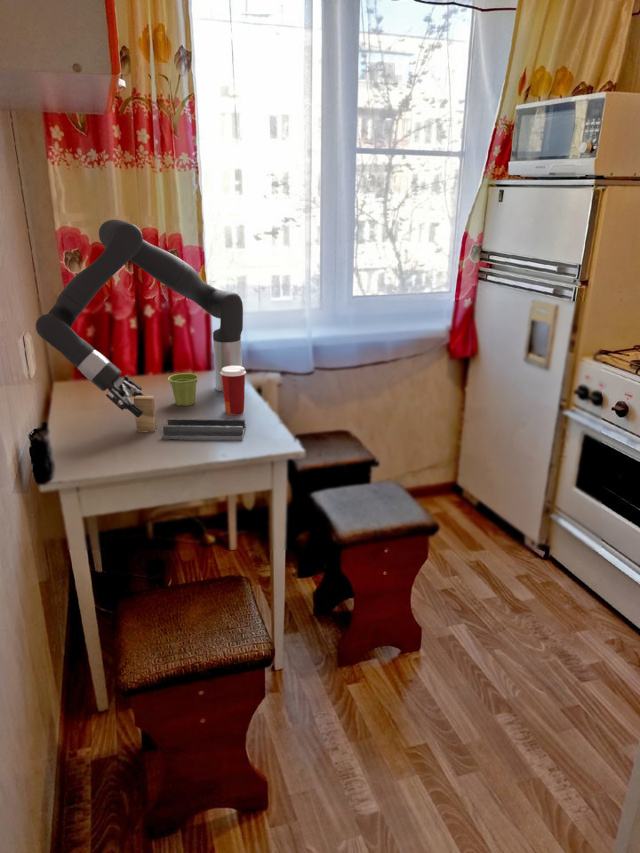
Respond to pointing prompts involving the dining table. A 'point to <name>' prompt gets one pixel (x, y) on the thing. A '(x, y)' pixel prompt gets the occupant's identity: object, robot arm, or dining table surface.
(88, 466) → the dining table surface
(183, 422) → the door track
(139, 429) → the wooden block
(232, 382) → the paper cup
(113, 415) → the dining table surface
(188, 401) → the plant pot
